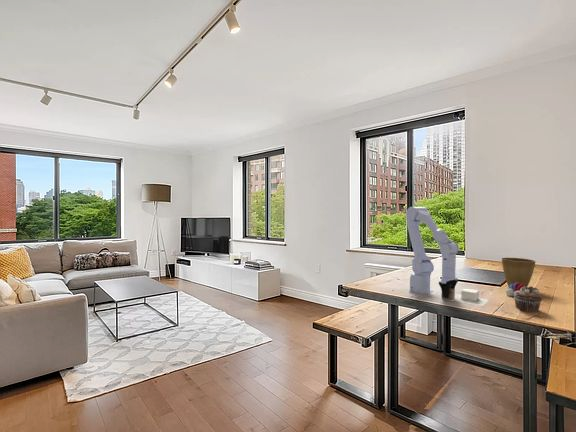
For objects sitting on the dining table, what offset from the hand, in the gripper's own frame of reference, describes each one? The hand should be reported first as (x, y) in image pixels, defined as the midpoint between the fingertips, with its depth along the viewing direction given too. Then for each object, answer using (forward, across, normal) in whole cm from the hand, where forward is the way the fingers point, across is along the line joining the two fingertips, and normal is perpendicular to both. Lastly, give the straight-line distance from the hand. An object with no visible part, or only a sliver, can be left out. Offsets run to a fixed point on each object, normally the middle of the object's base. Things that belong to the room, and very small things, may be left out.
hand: (448, 295), depth 158 cm
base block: (+1, +6, -8) cm, 10 cm away
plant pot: (+2, +46, -21) cm, 51 cm away
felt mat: (+1, +4, -6) cm, 7 cm away
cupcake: (+2, +7, -30) cm, 31 cm away
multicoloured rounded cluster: (+2, +27, -24) cm, 36 cm away
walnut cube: (+1, 0, 0) cm, 1 cm away
